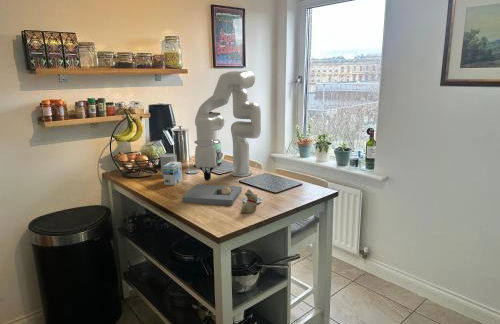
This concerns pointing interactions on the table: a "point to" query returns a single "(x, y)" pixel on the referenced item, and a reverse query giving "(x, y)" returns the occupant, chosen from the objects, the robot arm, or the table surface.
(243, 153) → the robot arm
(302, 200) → the table surface
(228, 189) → the ball
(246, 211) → the chocolate bunny
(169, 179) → the light bulb box
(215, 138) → the mint green blender
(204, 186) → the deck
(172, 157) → the grey piece
